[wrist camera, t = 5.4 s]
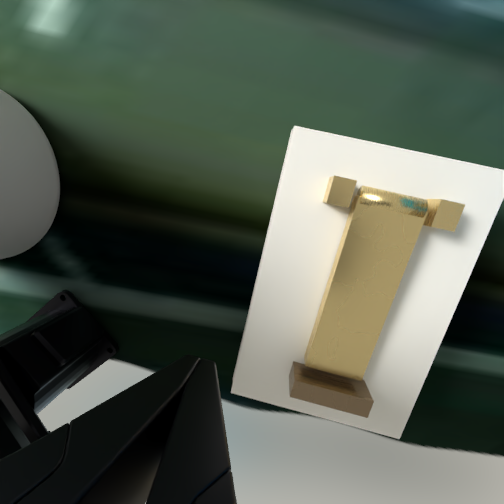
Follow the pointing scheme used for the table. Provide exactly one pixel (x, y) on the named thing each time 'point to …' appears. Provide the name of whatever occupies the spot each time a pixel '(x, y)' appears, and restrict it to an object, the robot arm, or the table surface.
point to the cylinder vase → (24, 179)
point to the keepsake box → (320, 264)
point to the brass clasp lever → (364, 280)
